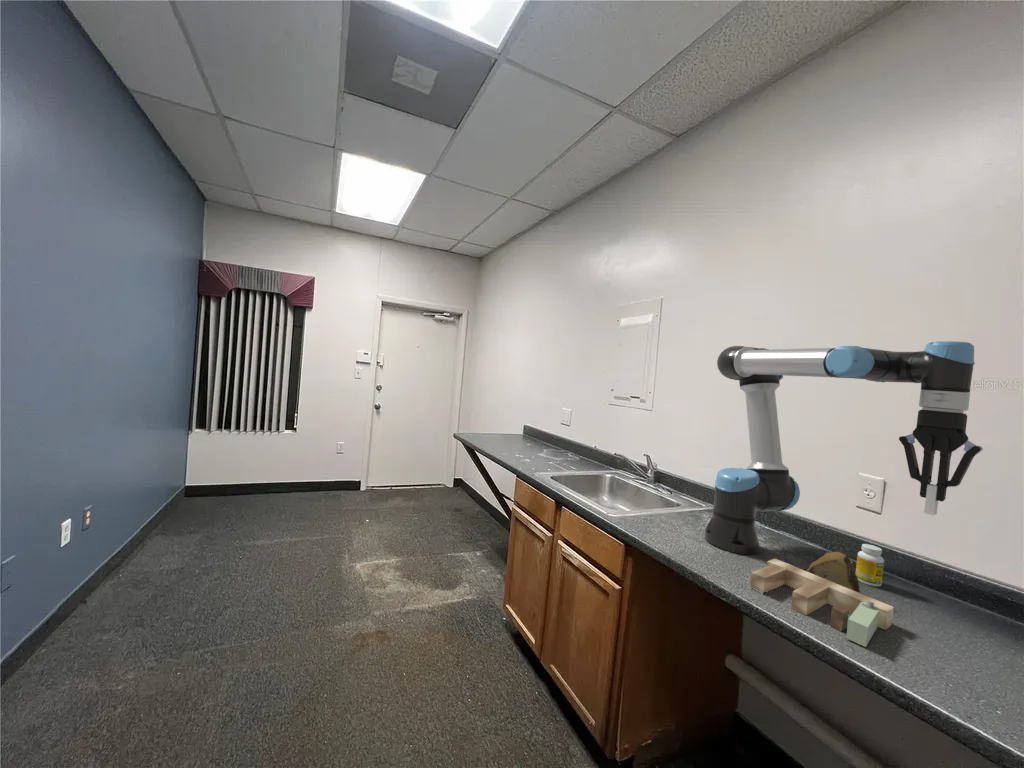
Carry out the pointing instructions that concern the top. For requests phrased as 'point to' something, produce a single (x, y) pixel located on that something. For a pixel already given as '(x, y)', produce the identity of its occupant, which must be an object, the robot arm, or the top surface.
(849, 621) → the hinged leg
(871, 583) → the supplement bottle
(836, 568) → the rock
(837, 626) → the stool frame
